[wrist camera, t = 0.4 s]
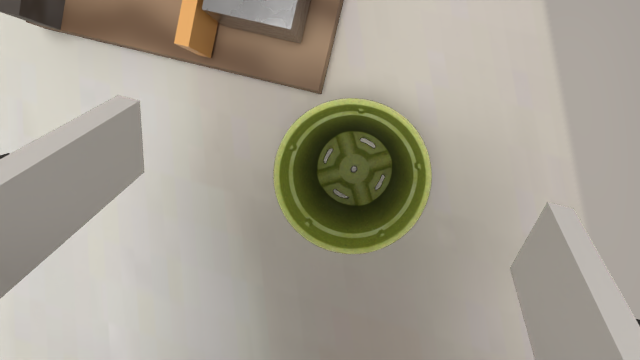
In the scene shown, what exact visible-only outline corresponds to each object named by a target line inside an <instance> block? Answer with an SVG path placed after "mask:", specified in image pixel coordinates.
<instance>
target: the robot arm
mask: <svg viewBox="0 0 640 360" xmlns="http://www.w3.org/2000/svg"><path fill="white" fill-rule="evenodd" d="M143 173H144V159H143V144H142V128H141V113H140V101H139V100H135V99H131V98H127V97H123V96H119V95H117V96H115V97H114V98H112V99H110V100H108V101H106V102H104V103H103V104H101V105H99V106H97V107H95V108H93V109H92V110H90V111H88V112H86V113H84V114H82V115H80V116H79V117H77V118H75V119H73V120H71V121H69V122H68V123H66V124H64V125H62V126H60V127H58V128H57V129H55V130H53V131H51V132H49V133H47V134H46V135H44V136H42V137H40V138H38V139H36V140H35V141H33V142H31V143H29V144H27V145H25V146H24V147H22V148H20V149H18V150H16V151H14V152H13V153H11V154H10V153H7V154H4V155H0V298H1V297H3V296H4V295H5V294H6V293H7V292H8V291H9V290H11V289H12V288H13V287H14V286H15V285H16V284H17V283H19V282H20V281H21V280H22V279H23V278H24V277H25V276H26V275H28V274H29V273H30V272H31V271H32V270H33V269H34V268H36V267H37V266H38V265H39V264H40V263H41V262H42V261H44V260H45V259H46V258H47V257H48V256H49V255H50V254H52V253H53V252H54V251H55V250H56V249H57V248H58V247H59V246H61V245H62V244H63V243H64V242H65V241H66V240H67V239H69V238H70V237H71V236H72V235H73V234H74V233H75V232H77V231H78V230H79V229H80V228H81V227H82V226H83V225H85V224H86V223H87V222H88V221H89V220H90V219H91V218H92V217H94V216H95V215H96V214H97V213H98V212H99V211H100V210H102V209H103V208H104V207H105V206H106V205H107V204H108V203H110V202H111V201H112V200H113V199H114V198H115V197H116V196H118V195H119V194H120V193H121V192H122V191H123V190H124V189H125V188H127V187H128V186H129V185H130V184H131V183H132V182H133V181H135V180H136V179H137V178H138V177H139V176H140V175H141V174H143ZM510 270H511V274H512V277H513V281H514V285H515V288H516V292H517V296H518V299H519V303H520V307H521V310H522V314H523V317H524V321H525V325H526V328H527V332H528V336H529V339H530V343H531V347H532V350H533V354H534V358H535V360H640V320H638V319H635V317H634V315H633V314H632V312H631V310H630V308H629V306H628V304H627V303H626V301H625V299H624V297H623V296H622V294H621V292H620V290H619V288H618V287H617V285H616V283H615V281H614V280H613V278H612V276H611V274H610V272H609V271H608V269H607V267H606V265H605V264H604V262H603V260H602V258H601V257H600V255H599V253H598V251H597V249H596V248H595V246H594V244H593V242H592V240H591V239H590V237H589V235H588V233H587V232H586V230H585V228H584V226H583V224H582V223H581V221H580V219H579V217H578V216H577V214H576V212H575V210H574V208H570V207H566V206H562V205H558V204H554V203H550V202H547V204H546V206H545V207H544V209H543V211H542V213H541V214H540V216H539V218H538V220H537V221H536V223H535V225H534V227H533V228H532V230H531V232H530V234H529V235H528V237H527V239H526V241H525V243H524V244H523V246H522V248H521V250H520V251H519V253H518V255H517V257H516V258H515V260H514V262H513V264H512V265H511V267H510Z"/></svg>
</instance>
